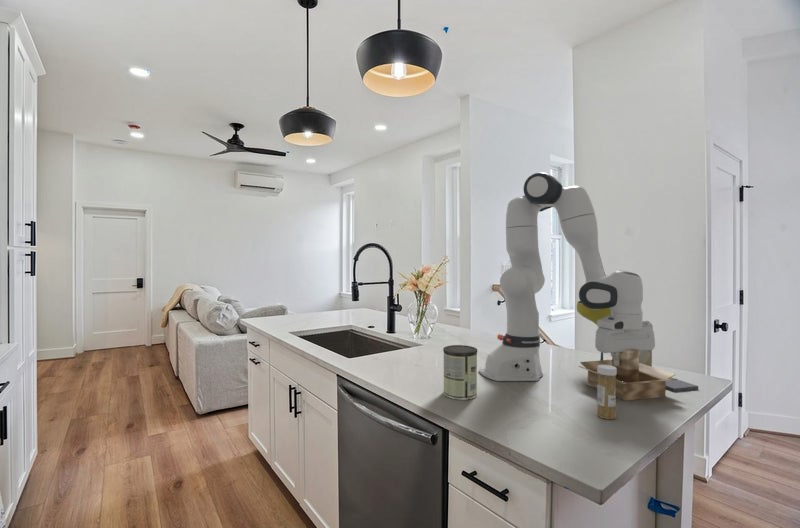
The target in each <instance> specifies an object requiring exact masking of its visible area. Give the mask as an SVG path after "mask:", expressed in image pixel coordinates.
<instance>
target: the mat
mask: <svg viewBox="0 0 800 528" xmlns="http://www.w3.org/2000/svg"><path fill="white" fill-rule="evenodd" d="M669 379H677V380H670V381H666V390H668V391H671V392H673V391H676V392H681V391H682V392H683V391H684V390H686V391H692V390H693V389H695V390H699V385H697V384H694V383H690V382H687V381H684V380H681V379H679V378H674V377H671V378H669ZM684 392H685V391H684Z"/></svg>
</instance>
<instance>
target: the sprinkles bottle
mask: <svg viewBox="0 0 800 528" xmlns="http://www.w3.org/2000/svg"><path fill="white" fill-rule="evenodd" d="M597 372H598V384H597V388H596V389H597V390H596V391H597V393H596V394H597V395H596V396H597V397H596V398H597V399H596V400H597V410H596V411H597V412H596V416H598V417H599V418H601V419H604V418H605V419H604V420H615V419H616V418H617V416H616V406H617V402H616V400H617V397H616V375H617V368H616V367H614V366H611V365H598V366H597Z"/></svg>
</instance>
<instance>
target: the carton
mask: <svg viewBox="0 0 800 528" xmlns="http://www.w3.org/2000/svg"><path fill="white" fill-rule="evenodd" d="M579 364H581V365H582V366H580V365H578V367H579V368H581V369H584V370H587V385H588V384H589V385H588V386H590V385H591V387H593V388H595V387H596V388H595V389H597V384H598V372H597V366H598V365H611V366H612V359H605V360H604V359H603V360H602V361H600V360H589V361H580V363H579ZM675 376H676V374H675V373H672V372H669V371H666V370H663V369H660V368H657V367H653V366H652V367H650V366H647V365H644V364H641V363H639V382H630V383H626V382H622V381H621V380H618V379H616V398H618V399H620V398H621V399H620V400H622V399H623V401H625V400H626V401H633V400H634V401H635V400H642V399H653V398H662V397H666V391H667V389H666V381H670V380H677V379H678V378H675V379H669V378H671V377H672V378H674V377H675Z"/></svg>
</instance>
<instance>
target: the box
mask: <svg viewBox="0 0 800 528" xmlns="http://www.w3.org/2000/svg"><path fill="white" fill-rule="evenodd" d="M639 363H641V364H644V365H647V366H650V367H653V350H644V351H640V355H639Z"/></svg>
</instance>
